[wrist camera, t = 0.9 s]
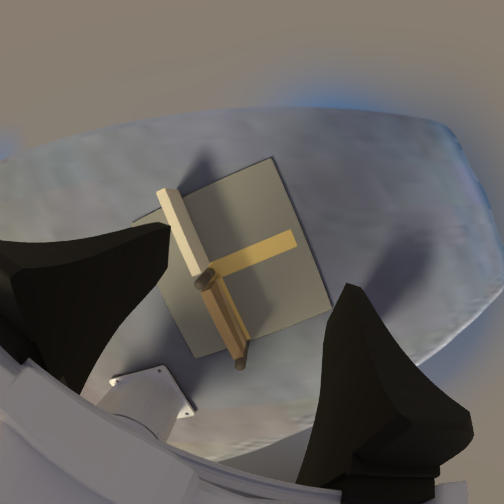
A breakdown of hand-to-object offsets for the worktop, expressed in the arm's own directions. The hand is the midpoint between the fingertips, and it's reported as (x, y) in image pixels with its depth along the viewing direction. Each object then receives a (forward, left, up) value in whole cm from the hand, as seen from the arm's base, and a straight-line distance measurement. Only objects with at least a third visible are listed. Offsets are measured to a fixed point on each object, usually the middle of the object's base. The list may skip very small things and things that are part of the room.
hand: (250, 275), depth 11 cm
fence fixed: (-6, -6, -18) cm, 20 cm away
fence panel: (-6, +3, -17) cm, 18 cm away
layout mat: (-4, -2, -18) cm, 18 cm away
